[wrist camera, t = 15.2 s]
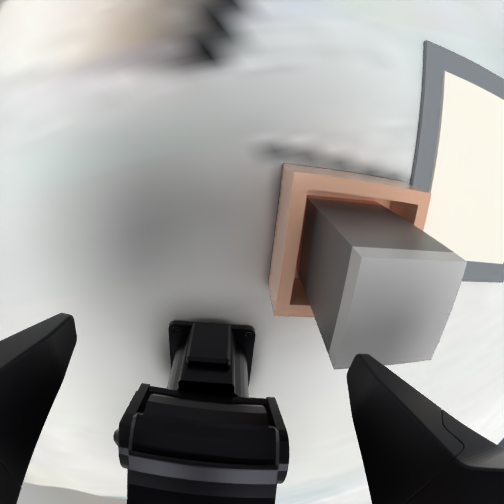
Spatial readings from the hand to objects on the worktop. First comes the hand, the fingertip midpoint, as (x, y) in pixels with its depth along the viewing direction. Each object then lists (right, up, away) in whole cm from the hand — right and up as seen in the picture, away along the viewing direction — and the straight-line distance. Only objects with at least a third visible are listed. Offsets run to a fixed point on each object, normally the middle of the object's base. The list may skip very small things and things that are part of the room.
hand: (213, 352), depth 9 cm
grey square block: (+7, +4, +12) cm, 14 cm away
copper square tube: (+7, +4, +12) cm, 15 cm away
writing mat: (+19, +9, +11) cm, 24 cm away
